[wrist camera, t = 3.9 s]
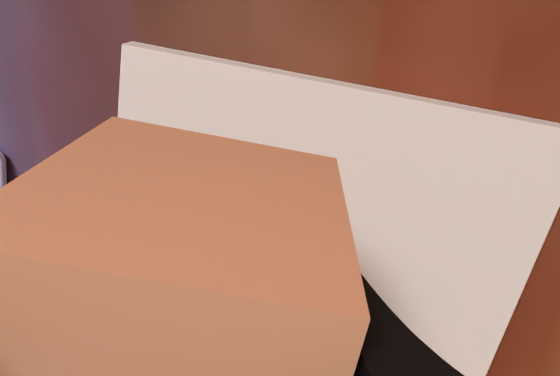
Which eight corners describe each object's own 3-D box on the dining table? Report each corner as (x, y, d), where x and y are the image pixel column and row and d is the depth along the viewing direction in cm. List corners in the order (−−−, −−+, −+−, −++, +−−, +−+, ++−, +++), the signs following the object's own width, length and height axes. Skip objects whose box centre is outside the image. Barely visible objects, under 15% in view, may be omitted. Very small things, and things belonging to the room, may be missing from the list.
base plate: (110, 374, 25) (101, 391, 24) (132, 41, 19) (121, 44, 18) (445, 431, 26) (452, 451, 25) (574, 125, 20) (591, 133, 19)
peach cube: (102, 304, 14) (-48, 537, 8) (112, 116, 12) (-80, 238, 6) (293, 338, 14) (287, 591, 8) (336, 158, 12) (371, 319, 6)
